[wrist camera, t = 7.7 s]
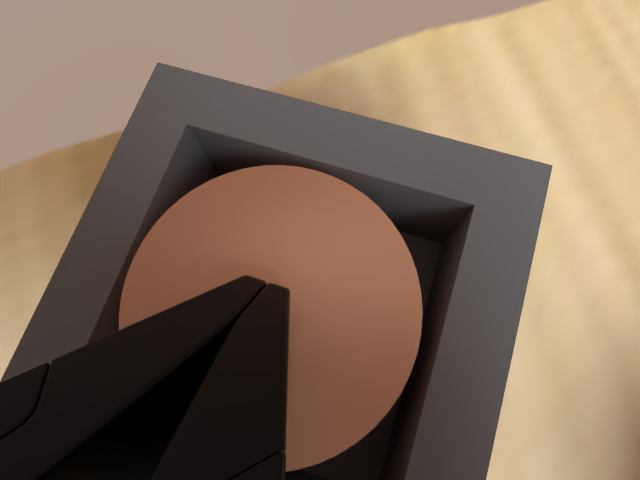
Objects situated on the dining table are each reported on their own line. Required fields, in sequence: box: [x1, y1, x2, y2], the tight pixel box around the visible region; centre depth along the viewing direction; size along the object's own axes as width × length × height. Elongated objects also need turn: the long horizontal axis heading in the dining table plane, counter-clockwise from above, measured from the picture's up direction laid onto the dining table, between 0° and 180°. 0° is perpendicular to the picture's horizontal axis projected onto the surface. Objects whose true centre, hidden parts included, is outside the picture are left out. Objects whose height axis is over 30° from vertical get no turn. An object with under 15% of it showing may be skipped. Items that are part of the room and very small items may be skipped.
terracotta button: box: [119, 165, 423, 471], centre depth 9 cm, size 6×6×3 cm
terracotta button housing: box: [0, 63, 552, 480], centre depth 12 cm, size 9×9×8 cm
